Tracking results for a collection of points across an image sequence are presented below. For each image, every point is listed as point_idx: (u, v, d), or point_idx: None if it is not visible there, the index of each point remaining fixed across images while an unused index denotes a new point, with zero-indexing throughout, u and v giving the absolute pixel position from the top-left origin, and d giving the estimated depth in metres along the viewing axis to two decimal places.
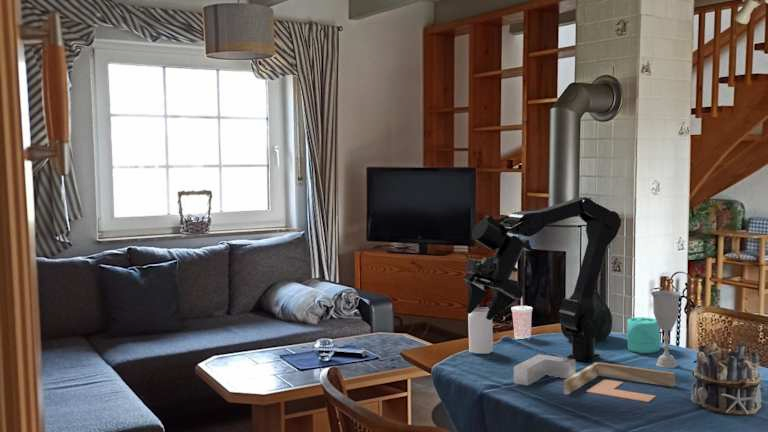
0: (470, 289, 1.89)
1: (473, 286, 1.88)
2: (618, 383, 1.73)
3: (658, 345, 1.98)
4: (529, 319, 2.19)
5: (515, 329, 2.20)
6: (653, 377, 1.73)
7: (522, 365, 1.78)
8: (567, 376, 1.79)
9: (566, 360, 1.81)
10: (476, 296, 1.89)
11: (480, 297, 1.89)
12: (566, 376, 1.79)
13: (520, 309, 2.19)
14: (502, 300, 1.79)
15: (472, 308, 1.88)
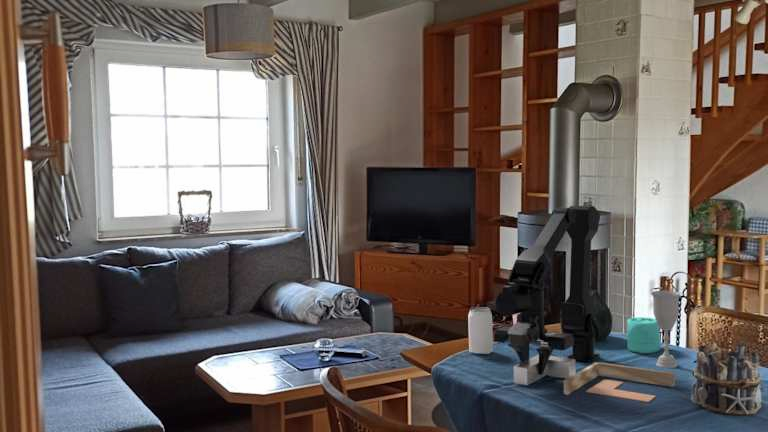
0: (518, 350, 1.82)
1: (520, 347, 1.81)
2: (618, 383, 1.73)
3: (658, 345, 1.98)
4: None
5: None
6: (653, 377, 1.73)
7: (522, 365, 1.78)
8: (567, 375, 1.79)
9: (566, 360, 1.81)
10: (525, 353, 1.83)
11: (527, 350, 1.84)
12: (566, 376, 1.79)
13: None
14: (546, 351, 1.80)
15: None
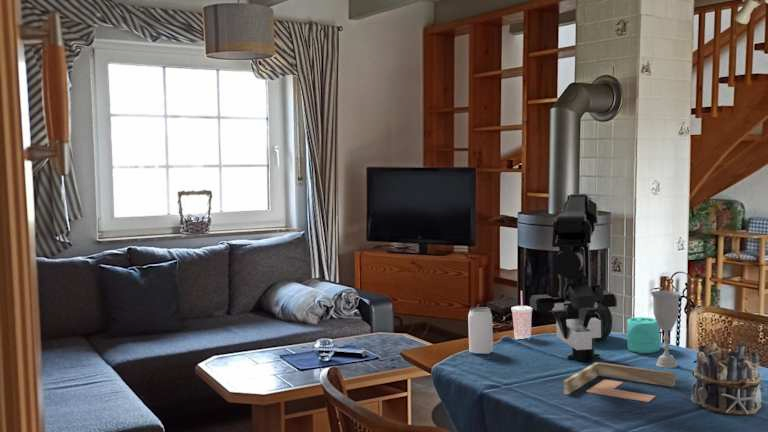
0: (562, 316, 1.71)
1: None
2: (618, 383, 1.73)
3: (658, 345, 1.98)
4: (529, 319, 2.19)
5: (515, 329, 2.20)
6: (653, 377, 1.73)
7: (578, 329, 1.68)
8: (599, 334, 1.77)
9: (592, 319, 1.78)
10: None
11: None
12: (598, 335, 1.77)
13: (520, 309, 2.19)
14: None
15: None
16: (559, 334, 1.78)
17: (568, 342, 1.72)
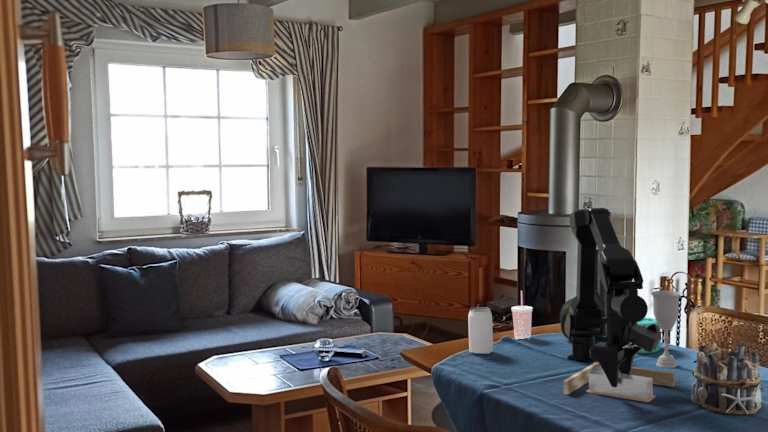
0: (619, 364, 1.61)
1: None
2: None
3: (658, 345, 1.98)
4: (529, 319, 2.19)
5: (515, 329, 2.20)
6: (653, 377, 1.73)
7: (639, 379, 1.63)
8: None
9: None
10: None
11: None
12: None
13: (520, 309, 2.19)
14: None
15: None
16: (595, 387, 1.68)
17: (623, 394, 1.64)
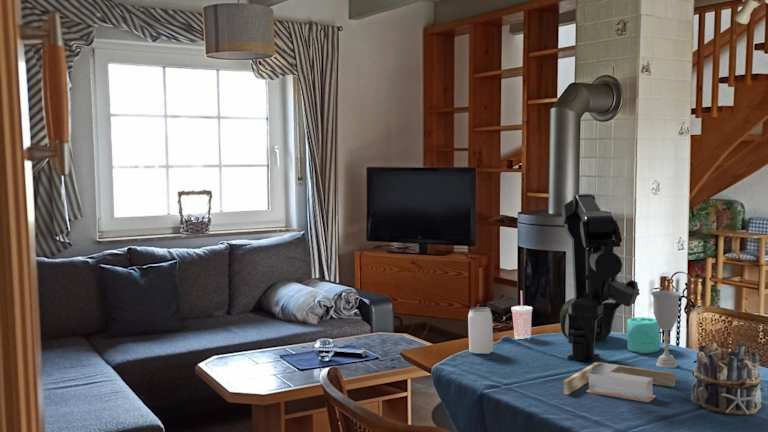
0: (597, 320, 1.68)
1: None
2: None
3: (658, 345, 1.98)
4: (529, 319, 2.19)
5: (515, 329, 2.20)
6: (653, 377, 1.73)
7: (639, 379, 1.63)
8: None
9: (611, 365, 1.74)
10: None
11: None
12: None
13: (520, 309, 2.19)
14: None
15: None
16: (595, 387, 1.68)
17: (623, 394, 1.64)
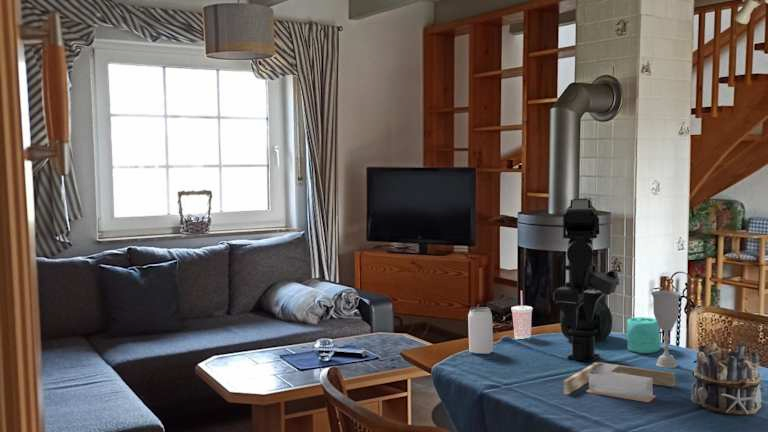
0: (578, 307, 1.75)
1: None
2: None
3: (658, 345, 1.98)
4: (529, 319, 2.19)
5: (515, 329, 2.20)
6: (653, 377, 1.73)
7: (639, 379, 1.63)
8: None
9: (611, 365, 1.74)
10: None
11: None
12: None
13: (520, 309, 2.19)
14: None
15: None
16: (595, 387, 1.68)
17: (623, 394, 1.64)
